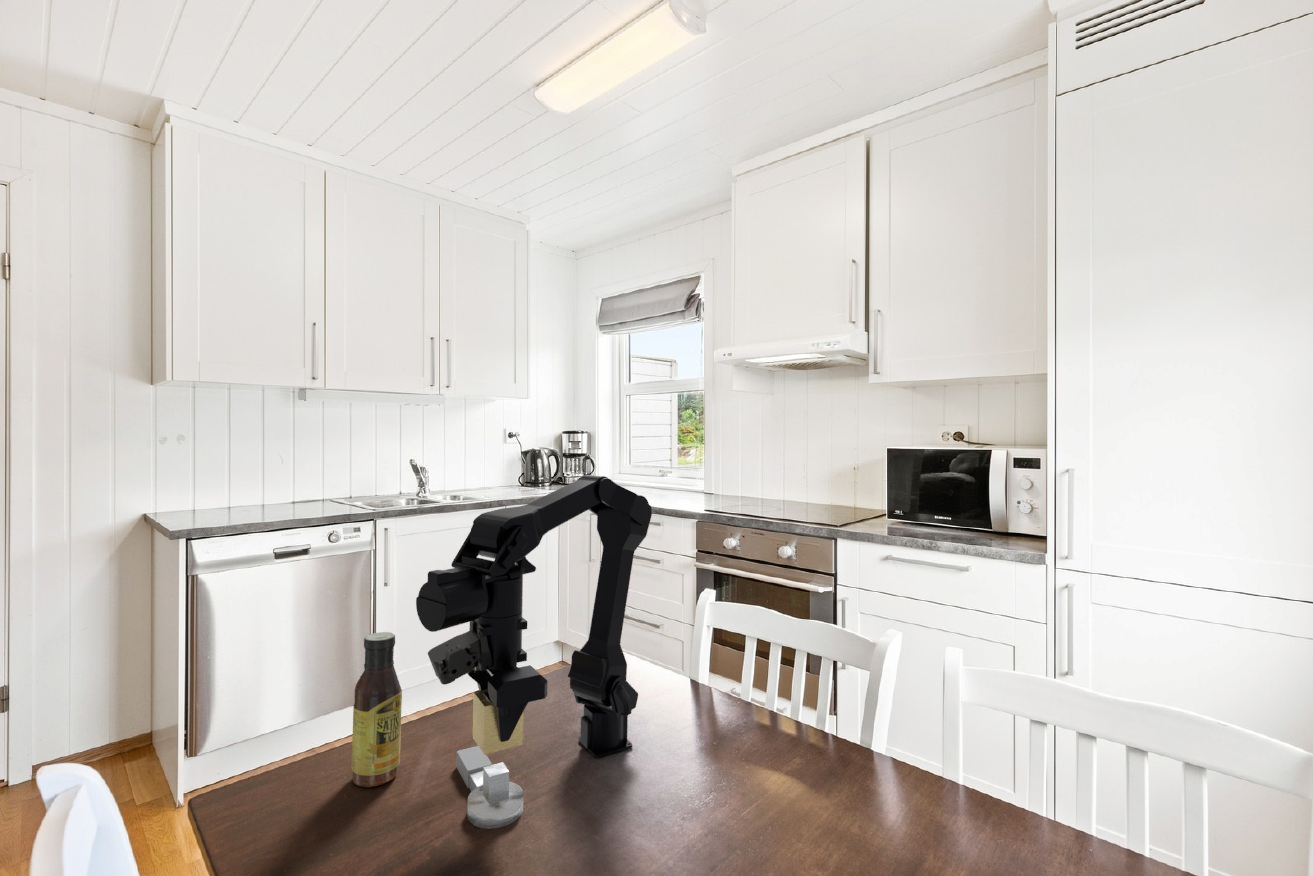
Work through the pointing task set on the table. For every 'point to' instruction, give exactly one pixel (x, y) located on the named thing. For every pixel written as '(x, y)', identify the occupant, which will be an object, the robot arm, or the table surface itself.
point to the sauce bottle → (377, 715)
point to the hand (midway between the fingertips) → (497, 731)
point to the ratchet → (489, 790)
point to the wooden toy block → (491, 726)
